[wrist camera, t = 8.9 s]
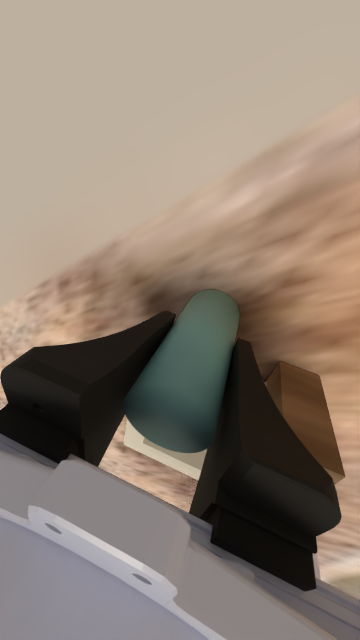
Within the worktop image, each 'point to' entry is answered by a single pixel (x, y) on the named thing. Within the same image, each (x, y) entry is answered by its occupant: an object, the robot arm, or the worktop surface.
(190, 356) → the dowel
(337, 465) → the wall
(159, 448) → the cream square tray
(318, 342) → the worktop surface
